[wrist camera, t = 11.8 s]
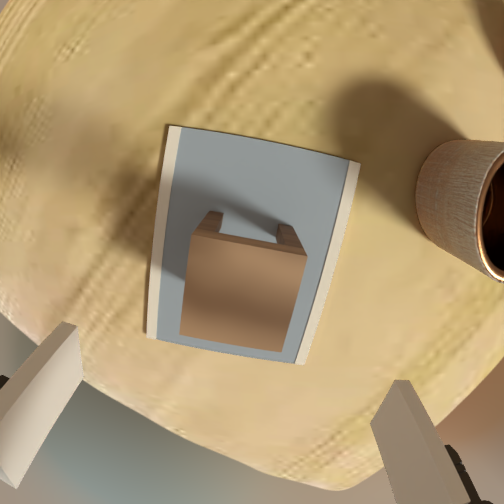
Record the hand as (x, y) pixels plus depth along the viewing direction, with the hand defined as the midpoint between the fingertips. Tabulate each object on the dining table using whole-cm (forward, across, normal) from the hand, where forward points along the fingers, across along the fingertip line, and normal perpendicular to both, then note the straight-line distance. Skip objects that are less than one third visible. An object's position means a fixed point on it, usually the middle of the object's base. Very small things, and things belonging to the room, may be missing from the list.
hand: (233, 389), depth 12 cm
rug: (+17, 0, 0) cm, 17 cm away
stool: (+17, 0, 0) cm, 17 cm away
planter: (+18, +19, +10) cm, 27 cm away
